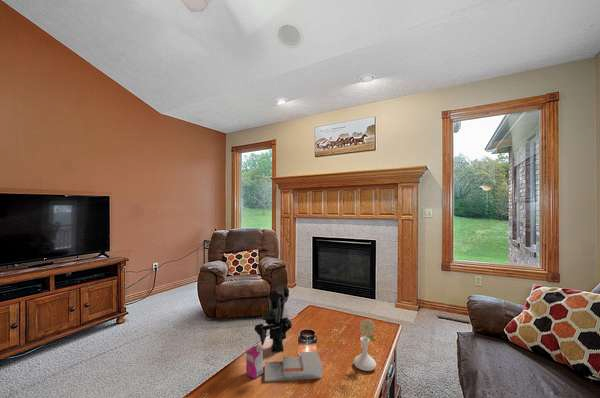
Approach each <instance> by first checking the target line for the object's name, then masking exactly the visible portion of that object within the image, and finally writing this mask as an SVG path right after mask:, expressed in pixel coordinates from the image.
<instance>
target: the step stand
mask: <svg viewBox="0 0 600 398" xmlns="http://www.w3.org/2000/svg"><path fill="white" fill-rule="evenodd" d="M299 353H300V354H299V356H282V360H280V361H266V362H264V383H267V382H268V383H271V382H272V383H273V382H282V381H284V382H285V381H296V380H297V381H298V380H300V381H301V380H316V379H322V378H323V363H322V361H321V357H320V355H319V352H318V351H300V352H299Z"/></svg>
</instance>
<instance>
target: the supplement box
mask: <svg viewBox="0 0 600 398" xmlns="http://www.w3.org/2000/svg"><path fill="white" fill-rule="evenodd" d="M245 352H246V357H245V358H246V359H245V360H246V363H245V365H246V366H245V367H246V376H248V377H249V378H250V379H253V380H256V379H258V378H259V377H260V376H262V375H263V374H264V372H263V371H264V370H263V369H264V368H263V367H264V363H263V361H264V360H263V359H264V358H263V357H264V356H263V353H264V351H263V349H262V348H259V347H257V346H253V347H251V348H250V349H248V350H246V351H245Z"/></svg>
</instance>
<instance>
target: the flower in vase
mask: <svg viewBox="0 0 600 398" xmlns="http://www.w3.org/2000/svg"><path fill="white" fill-rule="evenodd" d="M375 330H376V328H375V323H374V322H373V321H372V320H371V319H367V318H365V319H362V321H361V322H360V324H359V331H360V333H361V334H362V336H361V337H359V339H360V341H361V345H362V352H361V353H360V354H358V355H356V356H355V357H354V359H353V365H354V366H355V367H356V368H357V369H359V370H360V371H361V370H362V371H367V372H371V371H373V370H375V368H376V367H377V363H376V360H375V359H374V358H373V357H372V356H371V355H370V354H368V344H369V342H370V341H371V342H376V340H375V337H374V336H373V333H374V331H375Z"/></svg>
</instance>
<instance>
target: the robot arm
mask: <svg viewBox="0 0 600 398" xmlns="http://www.w3.org/2000/svg"><path fill="white" fill-rule="evenodd" d="M289 297H290V289H289V288H288V287H287V285H286V284H284V283H283V284H281V283H280V284H277V287H276V288H275V290H273V292H271V293H270V294H269V295H268V301H269V306H270V308H269V310H267V311H263V312H261V313H262V315H261V316H262V317H261V318H262V320H263V321H265V323H266V325H264V323H259V324H255V326H254V329H253V330H254V331H255V332H256V334H257V335H258V336H259V338H260V339H259V340H260V345H261V346H264V343H265V341H266V338H267V333H268V332H267V331H269V340H272V344H271V352H284V344H283V343H284V342H283V341H284V340H286V339H287V332H288V331H290V329H292V327H293V324H292V321H290V319H289V318H288V316H285V317H284V310H285V304H286V303H287V302H288V300H289Z"/></svg>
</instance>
